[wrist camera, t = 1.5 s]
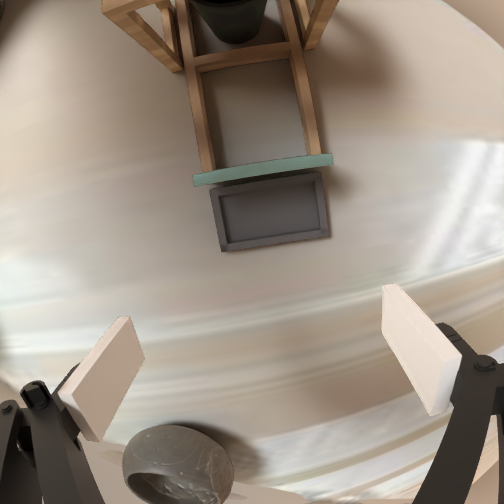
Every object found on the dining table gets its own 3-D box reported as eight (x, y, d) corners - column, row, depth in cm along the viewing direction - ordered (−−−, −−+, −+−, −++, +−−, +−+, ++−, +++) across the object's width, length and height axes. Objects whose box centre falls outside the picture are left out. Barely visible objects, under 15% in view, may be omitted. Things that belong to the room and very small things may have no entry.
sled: (179, -2, 28) (161, -34, 20) (279, -19, 27) (282, -55, 19) (209, 180, 34) (194, 186, 26) (317, 163, 33) (333, 164, 26)
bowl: (241, 468, 49) (237, 522, 37) (151, 462, 50) (136, 510, 38) (230, 408, 44) (222, 473, 32) (123, 402, 45) (96, 456, 33)
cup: (200, 4, 28) (177, -48, 17) (265, -5, 28) (266, -61, 16) (206, 57, 30) (181, 15, 19) (274, 48, 30) (279, 1, 18)
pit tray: (211, 188, 35) (209, 190, 33) (318, 171, 34) (320, 172, 32) (223, 248, 37) (221, 252, 35) (326, 232, 36) (328, 235, 34)
